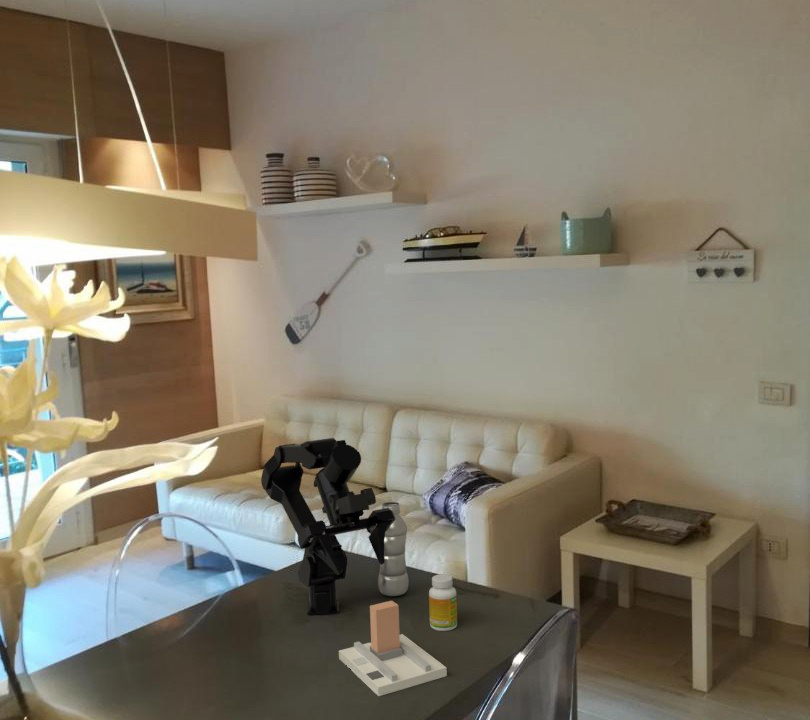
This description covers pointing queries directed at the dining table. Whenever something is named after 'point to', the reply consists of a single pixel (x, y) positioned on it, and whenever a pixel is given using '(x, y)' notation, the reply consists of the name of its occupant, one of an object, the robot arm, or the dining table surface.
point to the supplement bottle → (442, 603)
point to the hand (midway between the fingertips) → (361, 568)
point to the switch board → (392, 667)
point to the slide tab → (385, 630)
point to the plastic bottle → (394, 556)
